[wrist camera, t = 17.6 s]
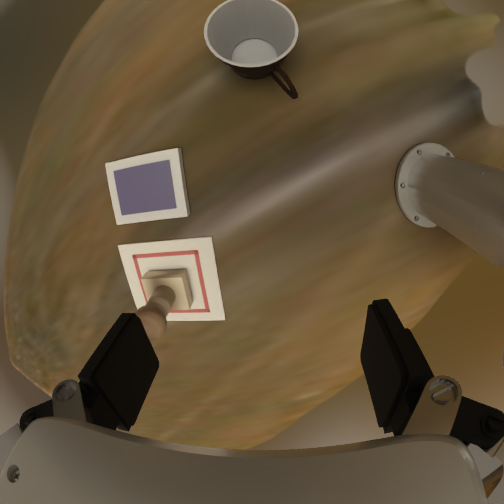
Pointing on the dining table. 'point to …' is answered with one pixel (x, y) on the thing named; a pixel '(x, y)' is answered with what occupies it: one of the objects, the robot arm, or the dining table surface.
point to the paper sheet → (178, 257)
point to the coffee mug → (253, 38)
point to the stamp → (163, 298)
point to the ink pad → (148, 187)
